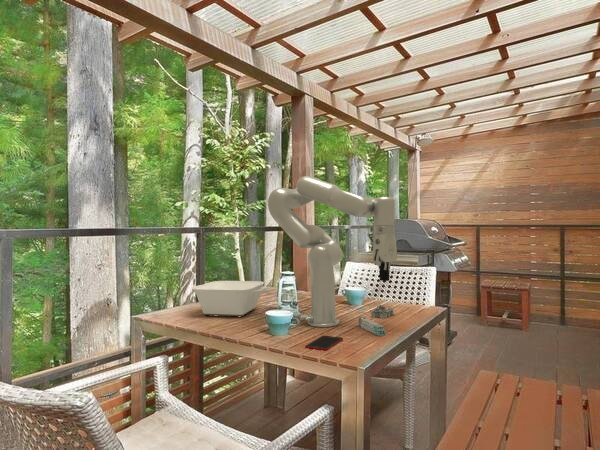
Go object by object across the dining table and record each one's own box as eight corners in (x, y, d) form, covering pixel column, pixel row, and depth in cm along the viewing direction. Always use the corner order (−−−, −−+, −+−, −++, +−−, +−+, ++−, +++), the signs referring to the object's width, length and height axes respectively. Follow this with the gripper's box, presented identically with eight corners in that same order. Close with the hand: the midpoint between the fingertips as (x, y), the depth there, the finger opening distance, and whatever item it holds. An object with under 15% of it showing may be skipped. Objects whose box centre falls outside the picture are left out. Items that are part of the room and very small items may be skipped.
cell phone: (343, 340, 144) (343, 337, 144) (326, 352, 130) (326, 349, 130) (323, 338, 147) (323, 335, 147) (304, 349, 134) (304, 346, 134)
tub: (181, 318, 182) (181, 288, 182) (209, 306, 208) (208, 280, 208) (256, 321, 174) (255, 290, 174) (274, 308, 200) (274, 281, 200)
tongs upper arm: (361, 323, 159) (361, 319, 159) (367, 322, 159) (367, 318, 159) (377, 331, 146) (377, 326, 146) (384, 330, 147) (384, 326, 147)
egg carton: (380, 313, 186) (380, 303, 186) (396, 315, 181) (396, 305, 181) (368, 317, 177) (368, 307, 177) (384, 319, 172) (384, 309, 172)
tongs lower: (357, 325, 162) (357, 317, 162) (363, 325, 163) (363, 316, 163) (378, 336, 146) (378, 326, 146) (385, 335, 147) (385, 326, 147)
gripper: (382, 231, 147) (382, 283, 147) (403, 230, 158) (403, 279, 158) (364, 230, 152) (364, 281, 152) (385, 230, 163) (385, 277, 163)
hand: (384, 280), depth 155 cm, fingers closed
